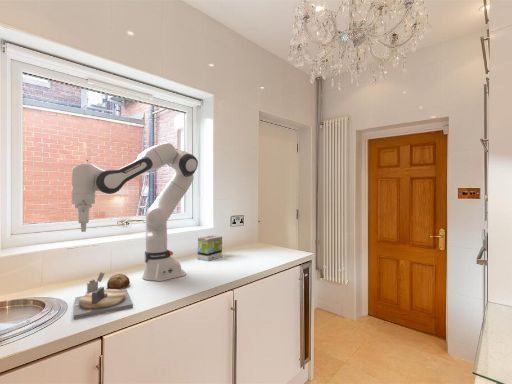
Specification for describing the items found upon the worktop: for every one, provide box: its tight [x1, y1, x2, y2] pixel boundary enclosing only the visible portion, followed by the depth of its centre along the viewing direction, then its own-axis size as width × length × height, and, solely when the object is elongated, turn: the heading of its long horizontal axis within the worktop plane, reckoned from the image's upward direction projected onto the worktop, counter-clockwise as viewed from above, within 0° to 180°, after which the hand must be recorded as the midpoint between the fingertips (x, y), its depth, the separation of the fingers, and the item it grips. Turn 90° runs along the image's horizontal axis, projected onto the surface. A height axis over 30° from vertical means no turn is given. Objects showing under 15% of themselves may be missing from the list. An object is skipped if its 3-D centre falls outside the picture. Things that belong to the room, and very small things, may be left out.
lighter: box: [86, 271, 105, 294], centre depth 133 cm, size 7×2×8 cm, turn 137°
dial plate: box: [73, 288, 134, 320], centre depth 117 cm, size 20×20×2 cm
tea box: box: [196, 235, 223, 262], centre depth 195 cm, size 15×10×15 cm, turn 148°
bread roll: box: [106, 273, 131, 290], centre depth 138 cm, size 10×10×8 cm
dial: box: [79, 286, 126, 309], centre depth 116 cm, size 17×17×6 cm
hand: (83, 231), depth 124 cm, fingers closed
